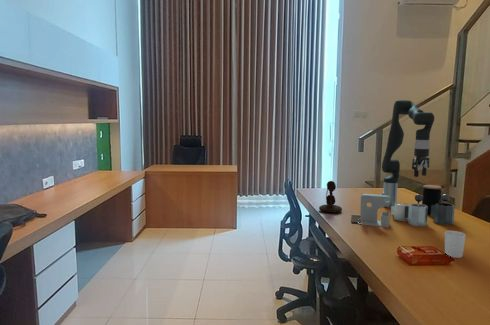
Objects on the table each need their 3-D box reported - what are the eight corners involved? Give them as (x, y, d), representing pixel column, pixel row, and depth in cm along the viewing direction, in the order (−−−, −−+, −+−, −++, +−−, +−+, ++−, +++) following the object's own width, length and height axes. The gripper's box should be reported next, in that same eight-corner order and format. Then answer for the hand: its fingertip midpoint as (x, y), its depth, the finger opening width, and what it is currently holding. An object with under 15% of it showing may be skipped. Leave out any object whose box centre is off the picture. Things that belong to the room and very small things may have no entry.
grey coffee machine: (389, 223, 207) (391, 192, 205) (389, 227, 198) (391, 196, 196) (358, 219, 214) (360, 190, 212) (357, 224, 204) (358, 193, 202)
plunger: (410, 222, 205) (411, 194, 203) (413, 220, 209) (415, 192, 208) (420, 224, 201) (422, 195, 199) (424, 222, 205) (426, 194, 203)
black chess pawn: (319, 208, 242) (319, 179, 240) (341, 209, 239) (342, 180, 237) (319, 213, 228) (319, 183, 226) (342, 215, 225) (343, 184, 223)
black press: (428, 221, 210) (429, 193, 208) (433, 219, 216) (435, 191, 214) (450, 226, 202) (452, 196, 200) (454, 222, 208) (456, 194, 206)
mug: (407, 218, 218) (408, 204, 217) (407, 221, 211) (408, 206, 210) (391, 216, 222) (391, 202, 221) (390, 219, 215) (391, 205, 214)
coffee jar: (442, 216, 223) (444, 188, 221) (424, 215, 226) (425, 187, 224) (436, 211, 234) (438, 185, 232) (419, 211, 236) (421, 184, 234)
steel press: (401, 223, 207) (402, 204, 206) (407, 220, 214) (408, 202, 212) (422, 227, 199) (423, 208, 198) (428, 224, 205) (429, 205, 204)
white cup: (439, 252, 160) (440, 230, 159) (455, 251, 161) (457, 230, 160) (451, 258, 153) (452, 236, 151) (468, 258, 153) (469, 235, 152)
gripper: (421, 148, 193) (420, 178, 195) (434, 147, 201) (433, 175, 203) (408, 148, 199) (407, 176, 201) (421, 147, 207) (420, 174, 209)
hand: (420, 176), depth 202 cm, fingers open, 8 cm apart
